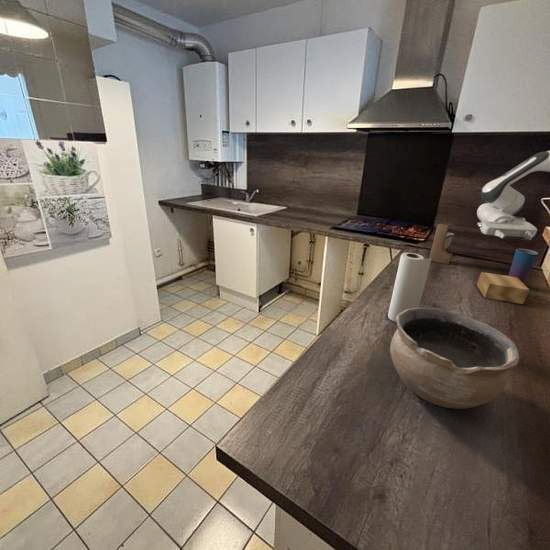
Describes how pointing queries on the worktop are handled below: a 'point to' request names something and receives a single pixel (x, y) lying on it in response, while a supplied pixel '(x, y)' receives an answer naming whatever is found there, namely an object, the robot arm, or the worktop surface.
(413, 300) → the paper towel roll
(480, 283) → the riser
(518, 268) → the cup
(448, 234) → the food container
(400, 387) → the worktop surface
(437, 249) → the wooden block
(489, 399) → the ceramic bowl
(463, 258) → the worktop surface
